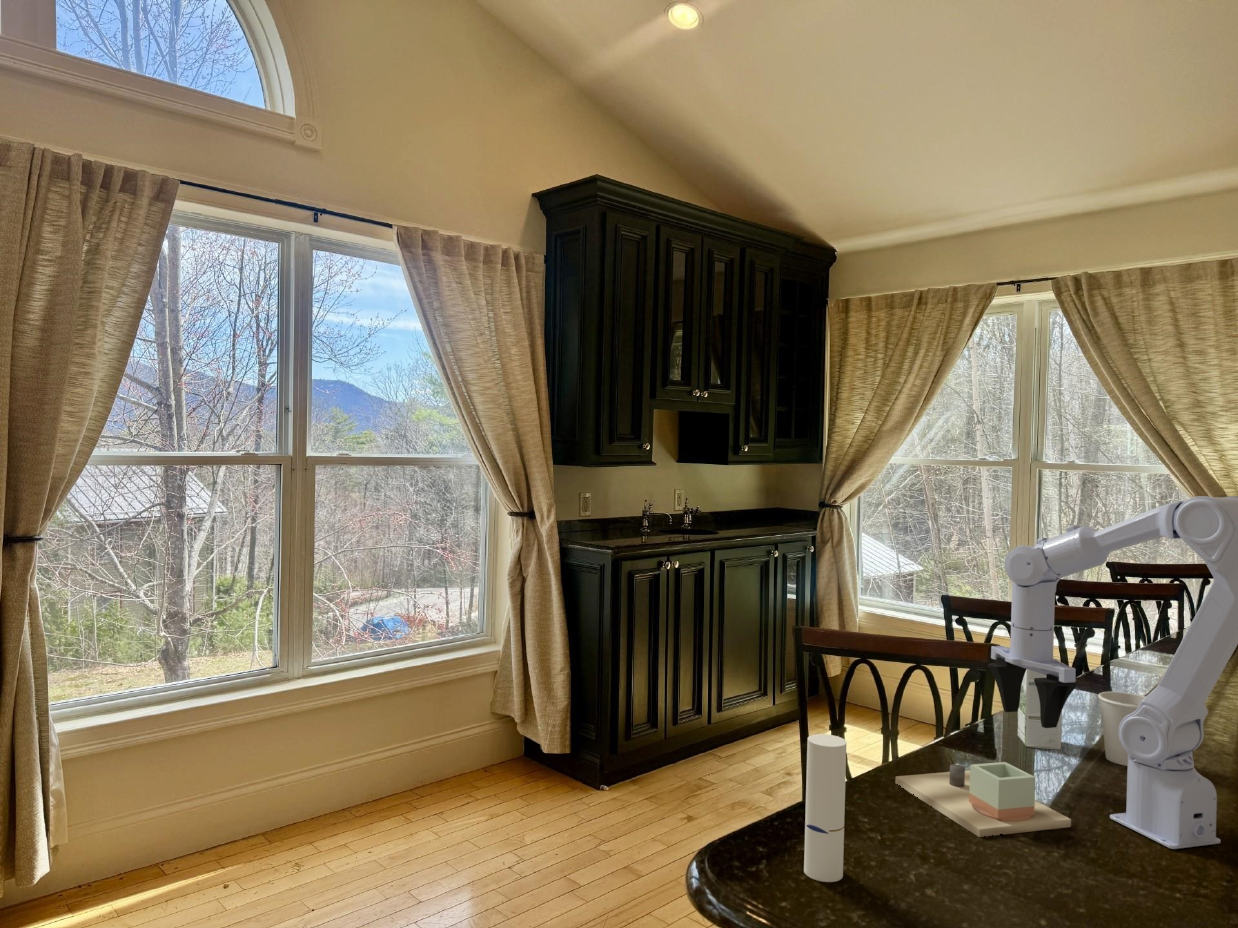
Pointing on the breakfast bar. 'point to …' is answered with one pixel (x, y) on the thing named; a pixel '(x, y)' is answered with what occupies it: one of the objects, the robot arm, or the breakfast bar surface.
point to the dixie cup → (1116, 721)
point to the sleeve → (1002, 790)
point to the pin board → (953, 801)
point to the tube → (825, 807)
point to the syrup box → (1035, 717)
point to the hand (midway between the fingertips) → (1029, 718)
